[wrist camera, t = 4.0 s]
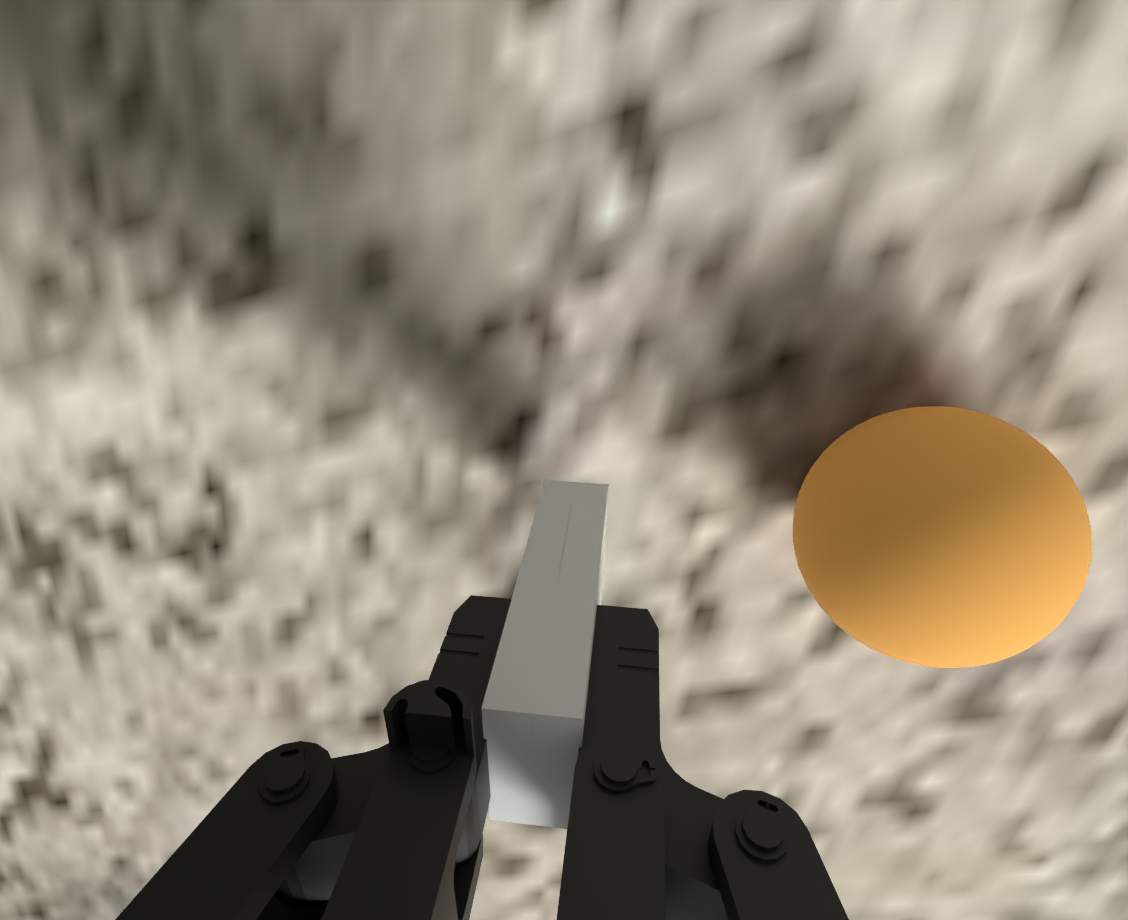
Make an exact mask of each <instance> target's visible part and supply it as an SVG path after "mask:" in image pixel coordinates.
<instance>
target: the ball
mask: <svg viewBox="0 0 1128 920" xmlns="http://www.w3.org/2000/svg"><path fill="white" fill-rule="evenodd" d="M793 542H794V549H795V554H796V558H797V562H798V566H799V569H800V571H801V573H802V576H803V578H804V580H805V583H806V585H807V587H808V589H809V590H810V592H811V593H812V595H813V596H814V598H815V599H816V601H817V602H818V604H819V605H820V607H821V608H822V609H823V610H824V611H825V613H826V614H827V615H828V616H829V617H830V618H831V619H832V620H833V621H834V622H835V623H836V624H837V625H838V626H839V627H840V628H842V629H843V630H844V631H845V632H847V633H848V634H849V635H851V636H852V637H853V638H855V639H856V640H857V641H859V642H861V643H862V644H864V645H866V646H867V647H869V648H871V649H874V650H876V651H878V652H880V653H882V654H884V655H887V656H889V657H891V658H894V659H898V660H901V661H904V662H908V663H913V664H917V665H922V666H928V667H937V668H959V667H972V666H979V665H985V664H989V663H993V662H997V661H1000V660H1003V659H1006V658H1009V657H1011V656H1013V655H1016V654H1018V653H1020V652H1022V651H1024V650H1026V649H1028V648H1030V647H1031V646H1033V645H1034V644H1036V643H1037V642H1039V641H1040V640H1042V639H1043V638H1044V637H1045V636H1047V635H1048V634H1049V633H1050V632H1052V631H1053V630H1054V629H1055V628H1056V627H1057V626H1058V625H1059V624H1060V623H1061V622H1062V621H1063V620H1064V619H1065V617H1066V616H1067V615H1068V613H1069V612H1070V611H1071V609H1072V607H1073V606H1074V604H1075V603H1076V601H1077V599H1078V597H1079V596H1080V594H1081V592H1082V590H1083V587H1084V584H1085V582H1086V579H1087V575H1088V571H1089V566H1090V561H1091V547H1092V542H1091V527H1090V522H1089V517H1088V513H1087V510H1086V506H1085V504H1084V501H1083V499H1082V496H1081V494H1080V492H1079V490H1078V488H1077V486H1076V484H1075V483H1074V481H1073V479H1072V478H1071V476H1070V475H1069V473H1068V472H1067V470H1066V469H1065V468H1064V466H1063V465H1062V464H1061V463H1060V462H1059V461H1058V460H1057V458H1056V457H1055V456H1054V455H1053V454H1052V453H1051V452H1050V451H1049V450H1048V449H1047V448H1046V447H1044V446H1043V445H1042V444H1040V443H1039V442H1038V441H1037V440H1035V439H1034V438H1032V437H1031V436H1030V435H1028V434H1027V433H1026V432H1024V431H1023V430H1021V429H1019V428H1017V427H1015V426H1013V425H1011V424H1009V423H1007V422H1005V421H1003V420H1001V419H998V418H996V417H993V416H990V415H987V414H984V413H980V412H976V411H972V410H967V409H962V408H957V407H945V406H927V407H912V408H905V409H900V410H896V411H892V412H888V413H884V414H882V415H879V416H876V417H873V418H871V419H869V420H867V421H865V422H863V423H861V424H858V425H857V426H855V427H853V428H852V429H850V430H849V431H847V432H845V433H844V434H843V435H841V436H840V437H839V438H838V439H836V440H835V441H834V442H833V443H832V444H831V445H830V446H829V447H828V448H827V449H826V450H825V451H824V452H823V453H822V454H821V455H820V457H819V458H818V459H817V460H816V462H815V463H814V464H813V466H812V467H811V469H810V471H809V472H808V474H807V476H806V477H805V479H804V482H803V484H802V486H801V489H800V491H799V494H798V498H797V502H796V505H795V509H794V518H793Z"/></svg>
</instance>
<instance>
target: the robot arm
mask: <svg viewBox="0 0 1128 920" xmlns="http://www.w3.org/2000/svg"><path fill="white" fill-rule="evenodd" d="M608 485H609V484H595V483H581V482H566V481H552V480H544V484H543V488H542V491H541V495H540V499H539V502H538V506H537V509H536V513H535V517H534V520H533V524H532V527H531V531H530V535H529V538H528V542H527V546H526V549H525V553H524V556H523V560H522V564H521V567H520V571H519V574H518V578H517V582H516V585H515V589H514V593H513V596H512V599H506V598H495V597H483V596H472V595H471V596H470V597H469V598H468V599H467V600H466V601H465V602H464V603H463V604H462V605H461V606H460V607H459V608H458V609H457V610H456V611H455V612H454V614H453V617H452V620H451V622H450V625H449V628H448V630H447V635H446V637H445V638H444V641H443V643H442V646H441V649H440V653H439V654H438V657H437V659H436V662H435V664H434V667H433V670H432V672H431V675H430V678H429V680H424V681H420V682H417V683H415V684H412V685H409V686H406V687H405V688H403V689H402V690H401V691H399V692H398V693H397V694H395V695H394V696H393V697H392V698H391V700H390V701H389V702H388V704H387V705H386V707H385V708H384V710H383V711H384V717H385V722H386V728H387V733H388V739H389V743H388V744H386V745H384V746H382V747H380V748H378V749H375V750H371V751H368V752H364V753H359V754H353V755H348V756H343V757H338V758H332V759H331V757H330V755H329V753H328V751H327V750H325V749H324V748H322V747H321V746H319V745H318V744H316V743H310V742H303V741H299V742H293V743H288V744H283V745H281V746H279V747H277V748H275V749H273V750H271V751H268V752H266V753H265V754H264V755H263V756H261V757H260V758H259V759H258V760H257V761H256V762H255V763H253V764H252V765H251V766H250V767H249V768H248V769H247V771H246V772H245V773H244V774H243V775H242V776H241V777H240V779H239V780H238V781H237V782H236V783H235V784H234V785H233V787H232V788H231V789H230V790H229V791H228V792H227V793H226V794H225V796H224V797H223V798H222V799H221V800H220V801H219V802H218V804H217V805H216V806H215V807H214V808H213V809H212V810H211V812H210V813H209V814H208V815H207V816H206V817H205V818H204V820H203V821H202V822H201V823H200V824H199V825H198V826H197V827H196V829H195V830H194V831H193V832H192V833H191V834H190V835H189V837H188V838H187V839H186V840H185V841H184V842H183V843H182V845H181V846H180V847H179V848H178V849H177V850H176V851H175V852H174V854H173V855H172V856H171V857H170V858H169V859H168V860H167V862H166V863H165V864H164V865H163V866H162V867H161V868H160V870H159V871H158V872H157V873H156V874H155V875H154V876H153V878H152V879H151V880H150V881H149V882H148V883H147V884H146V885H145V887H144V888H143V889H142V890H141V891H140V892H139V893H138V895H137V896H136V897H135V898H134V899H133V900H132V901H131V903H130V904H129V905H128V906H127V907H126V908H125V909H124V910H123V912H122V913H121V914H120V915H119V916H118V917H117V918H116V920H469V917H470V912H471V908H472V903H473V899H474V894H475V889H476V885H477V880H478V876H479V871H480V867H481V862H482V857H483V833H482V832H483V828H484V823H485V819H486V815H487V810H488V806H489V816H490V820H497V821H505V822H513V823H522V824H530V825H538V826H546V827H555V828H563V829H567V837H566V845H565V854H564V862H563V871H562V879H561V888H560V896H559V905H558V914H557V920H849V919H848V917H847V915H846V912H845V910H844V908H843V906H842V904H841V901H840V899H839V897H838V895H837V893H836V890H835V888H834V886H833V884H832V882H831V879H830V877H829V875H828V873H827V871H826V868H825V866H824V864H823V862H822V860H821V857H820V855H819V853H818V851H817V849H816V846H815V844H814V842H813V840H812V838H811V835H810V833H809V831H808V829H807V827H806V826H805V824H804V823H803V821H802V820H801V818H800V817H799V815H798V814H797V812H796V811H795V810H793V809H792V808H791V807H790V806H788V805H787V804H786V803H785V802H784V801H782V800H781V799H780V798H777V797H775V796H772V795H770V794H768V793H765V792H763V791H753V790H742V791H739V792H736V793H733V794H730V795H728V796H727V797H726V798H725V799H722V798H720V797H717V796H715V795H713V794H710V793H708V792H706V791H704V790H701V789H699V788H697V787H695V786H693V785H692V784H690V783H688V782H686V781H685V780H684V779H683V778H681V777H680V776H679V775H678V774H677V773H676V772H675V771H674V770H673V769H672V768H671V766H670V765H669V764H668V762H667V761H666V758H665V756H664V754H663V752H662V749H661V742H660V708H659V629H658V627H657V626H656V624H655V622H654V620H653V618H652V616H651V615H650V613H649V611H648V609H638V608H627V607H615V606H604V605H601V599H602V589H603V579H604V562H605V543H606V524H607V504H608Z"/></svg>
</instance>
